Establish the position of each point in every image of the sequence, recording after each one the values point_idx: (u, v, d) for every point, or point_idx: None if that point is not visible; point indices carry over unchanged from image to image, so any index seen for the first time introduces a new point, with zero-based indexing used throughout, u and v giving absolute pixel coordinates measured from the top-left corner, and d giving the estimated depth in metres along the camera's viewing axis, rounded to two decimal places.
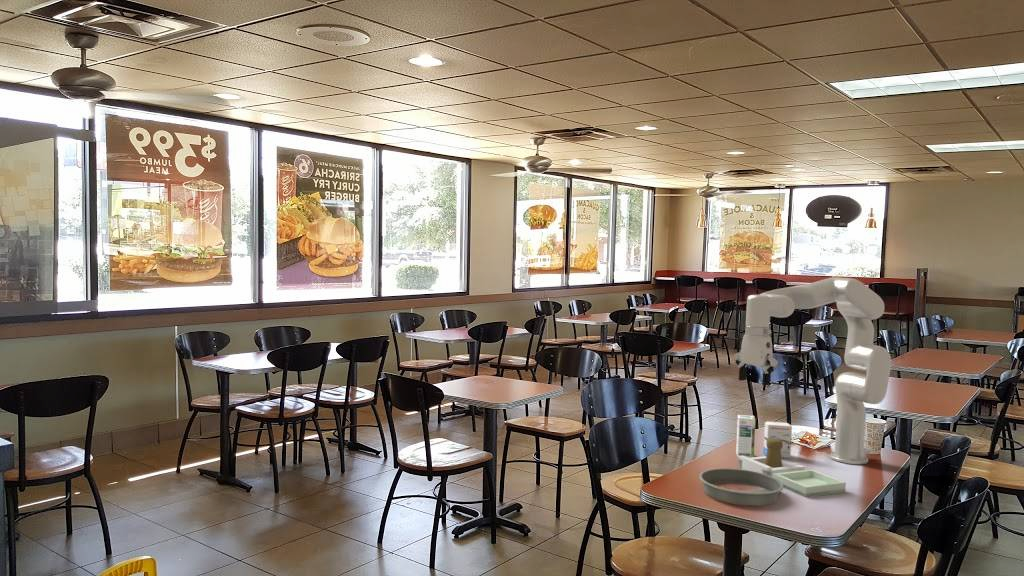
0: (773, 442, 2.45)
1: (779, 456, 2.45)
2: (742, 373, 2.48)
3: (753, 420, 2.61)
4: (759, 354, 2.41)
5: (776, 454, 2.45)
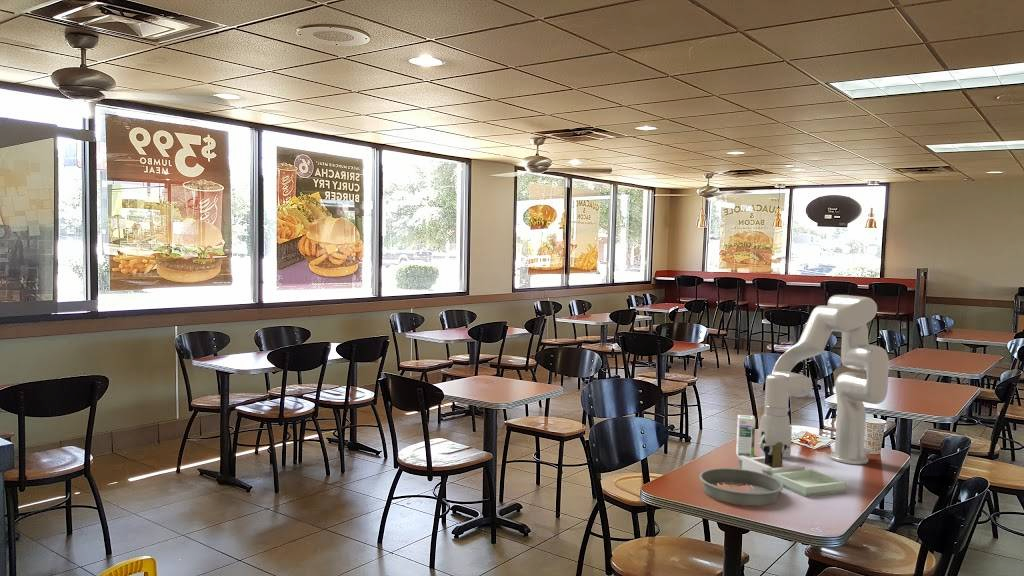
0: None
1: (779, 456, 2.45)
2: None
3: (753, 420, 2.61)
4: (787, 433, 2.46)
5: (777, 453, 2.45)
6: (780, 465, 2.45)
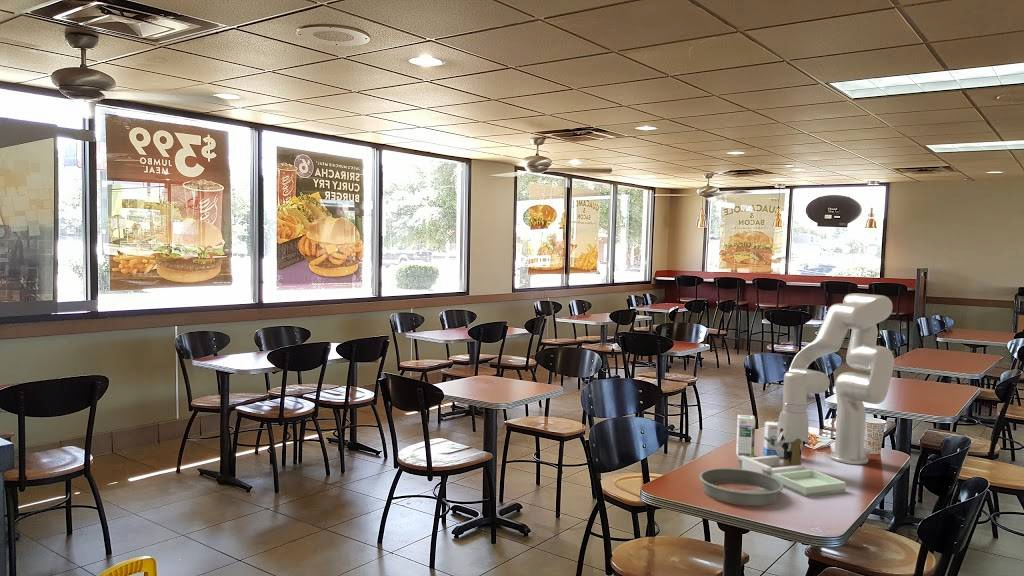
0: None
1: (798, 452, 2.48)
2: None
3: (753, 420, 2.61)
4: (805, 429, 2.49)
5: (795, 450, 2.48)
6: (799, 461, 2.48)
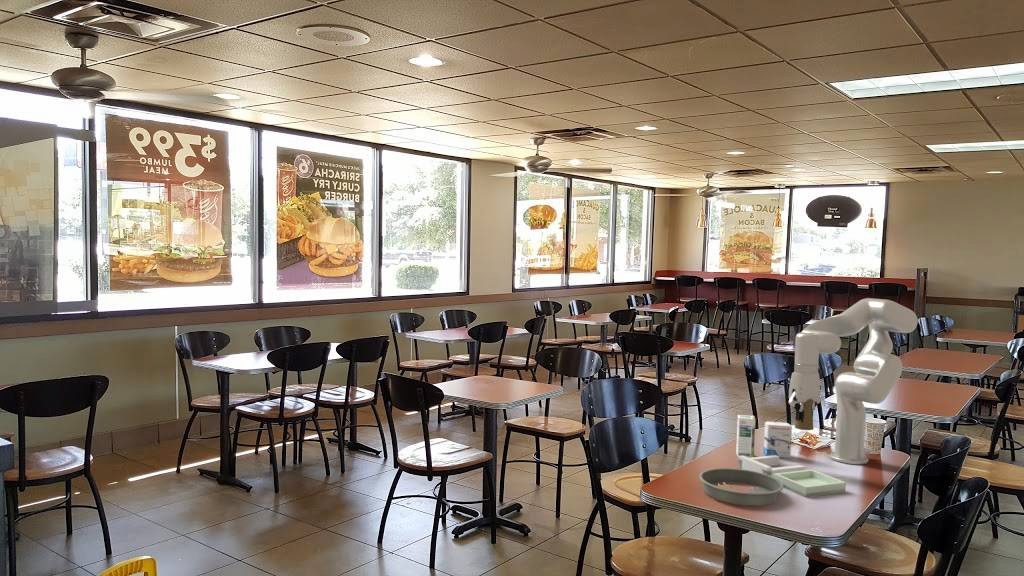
0: None
1: (810, 413, 2.49)
2: None
3: (753, 420, 2.61)
4: (817, 389, 2.49)
5: (807, 410, 2.49)
6: (811, 421, 2.49)
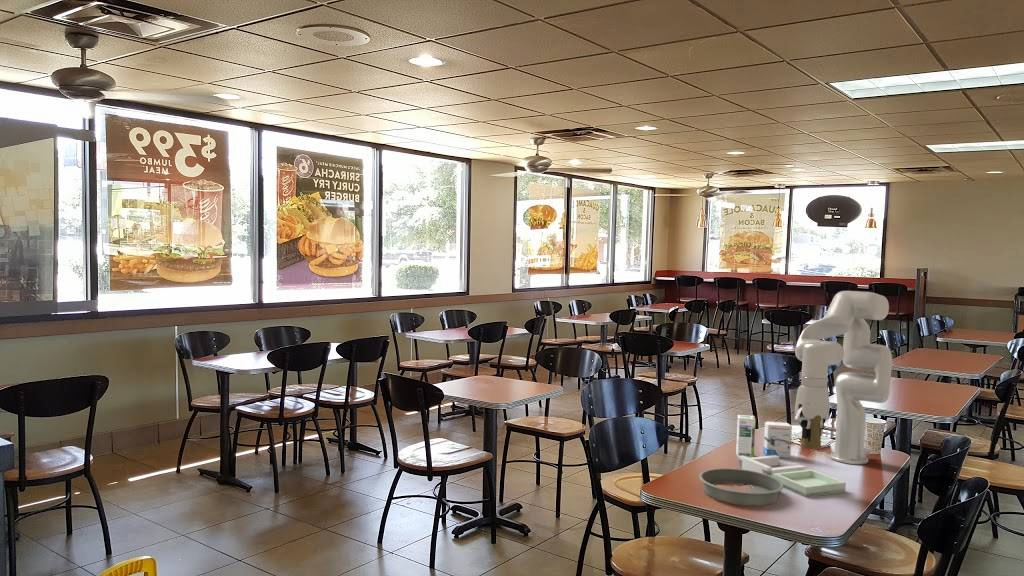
0: None
1: (818, 430, 2.28)
2: None
3: (753, 420, 2.61)
4: (826, 405, 2.29)
5: (815, 427, 2.28)
6: (819, 440, 2.28)
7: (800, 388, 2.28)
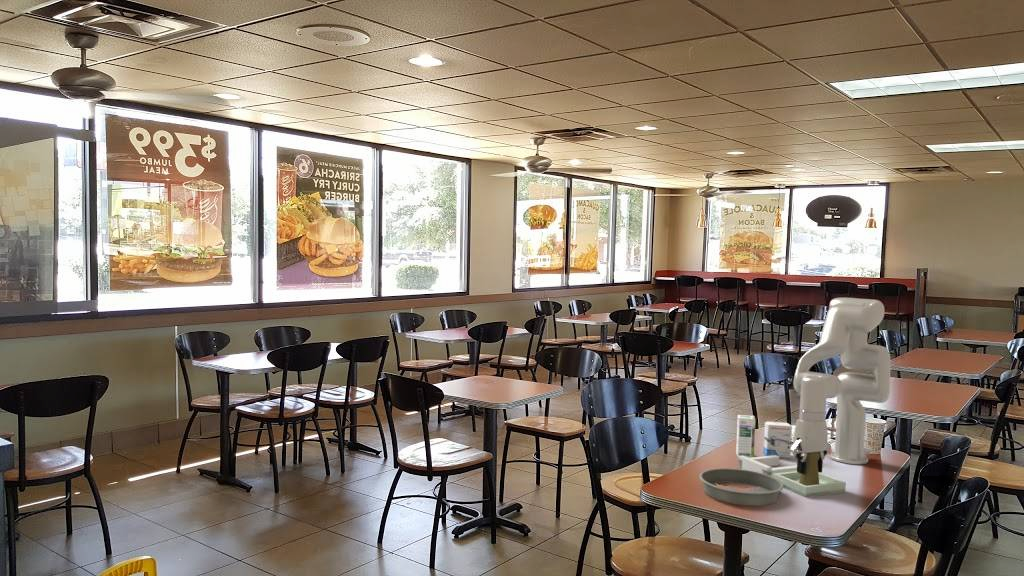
0: (810, 453, 2.29)
1: (816, 468, 2.29)
2: None
3: (753, 420, 2.61)
4: (824, 439, 2.29)
5: (813, 465, 2.29)
6: (817, 477, 2.29)
7: (798, 422, 2.29)
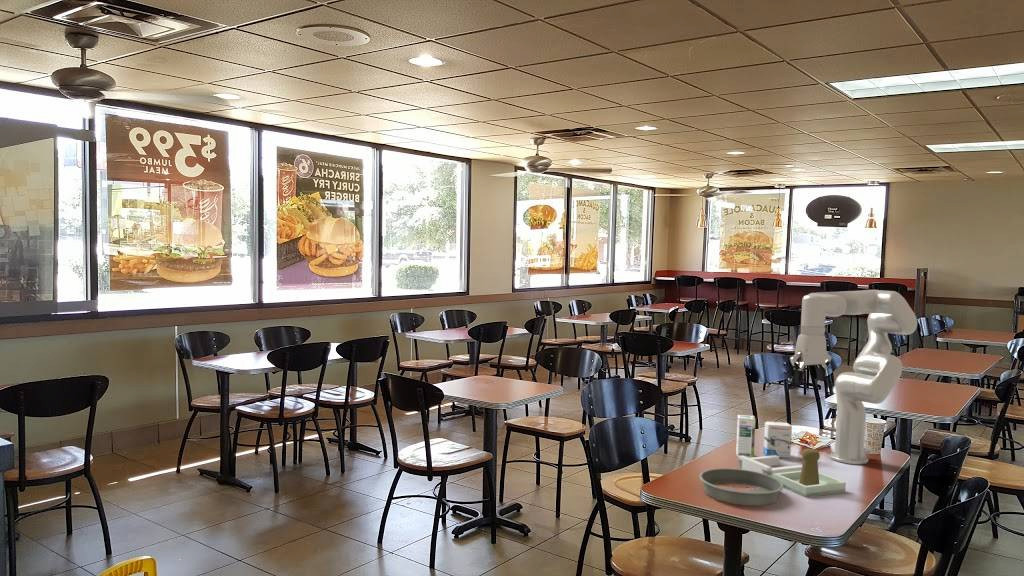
0: (809, 453, 2.29)
1: (816, 468, 2.29)
2: None
3: (753, 420, 2.61)
4: (823, 352, 2.48)
5: (813, 465, 2.29)
6: (817, 477, 2.29)
7: (799, 336, 2.48)
